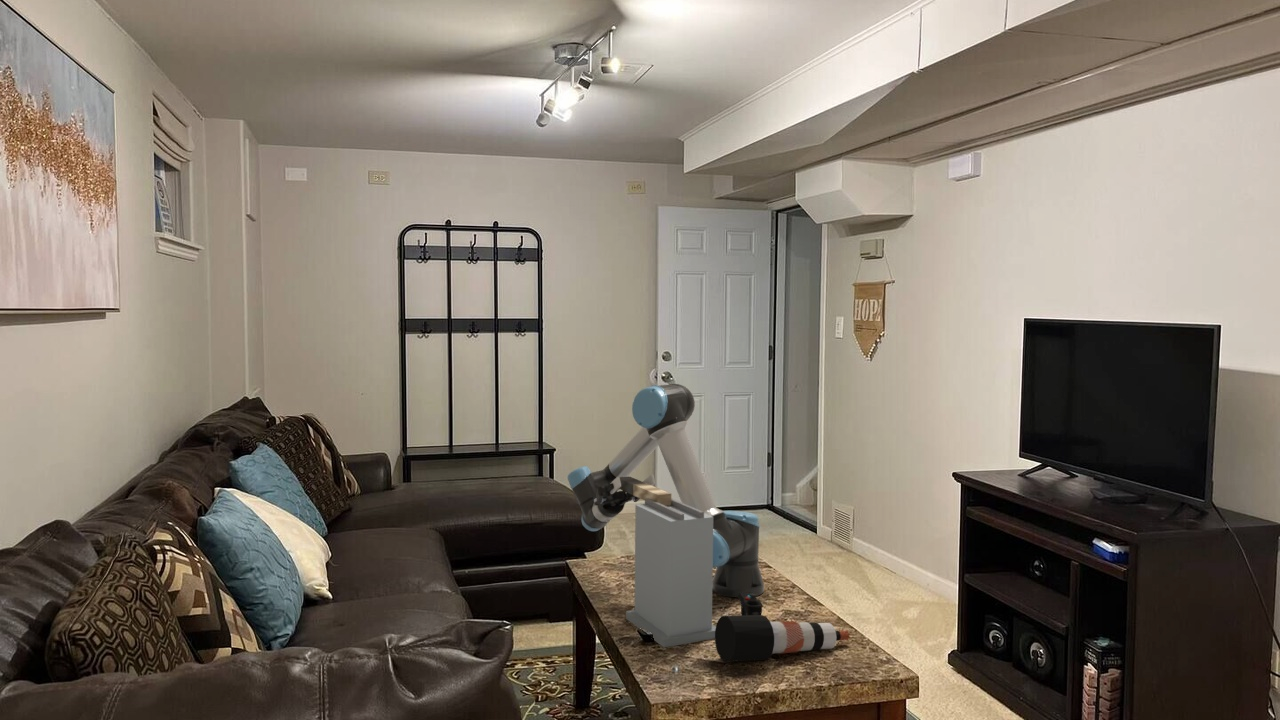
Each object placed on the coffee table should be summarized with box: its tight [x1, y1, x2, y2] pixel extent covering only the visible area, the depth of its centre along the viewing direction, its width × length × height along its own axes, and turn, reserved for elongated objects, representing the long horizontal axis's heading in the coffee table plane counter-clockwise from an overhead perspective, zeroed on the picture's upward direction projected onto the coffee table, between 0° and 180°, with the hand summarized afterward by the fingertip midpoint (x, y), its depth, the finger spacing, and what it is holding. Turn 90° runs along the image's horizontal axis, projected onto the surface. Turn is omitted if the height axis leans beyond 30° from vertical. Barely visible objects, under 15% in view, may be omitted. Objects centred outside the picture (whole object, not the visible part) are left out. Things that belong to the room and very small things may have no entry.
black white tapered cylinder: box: [714, 614, 851, 663], centre depth 207 cm, size 10×34×10 cm, turn 109°
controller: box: [737, 592, 763, 616], centre depth 224 cm, size 4×12×10 cm, turn 6°
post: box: [625, 497, 716, 648], centre depth 223 cm, size 22×16×32 cm
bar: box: [619, 476, 672, 506], centre depth 239 cm, size 26×4×3 cm, turn 25°
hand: (636, 480), depth 242 cm, fingers open, 10 cm apart
